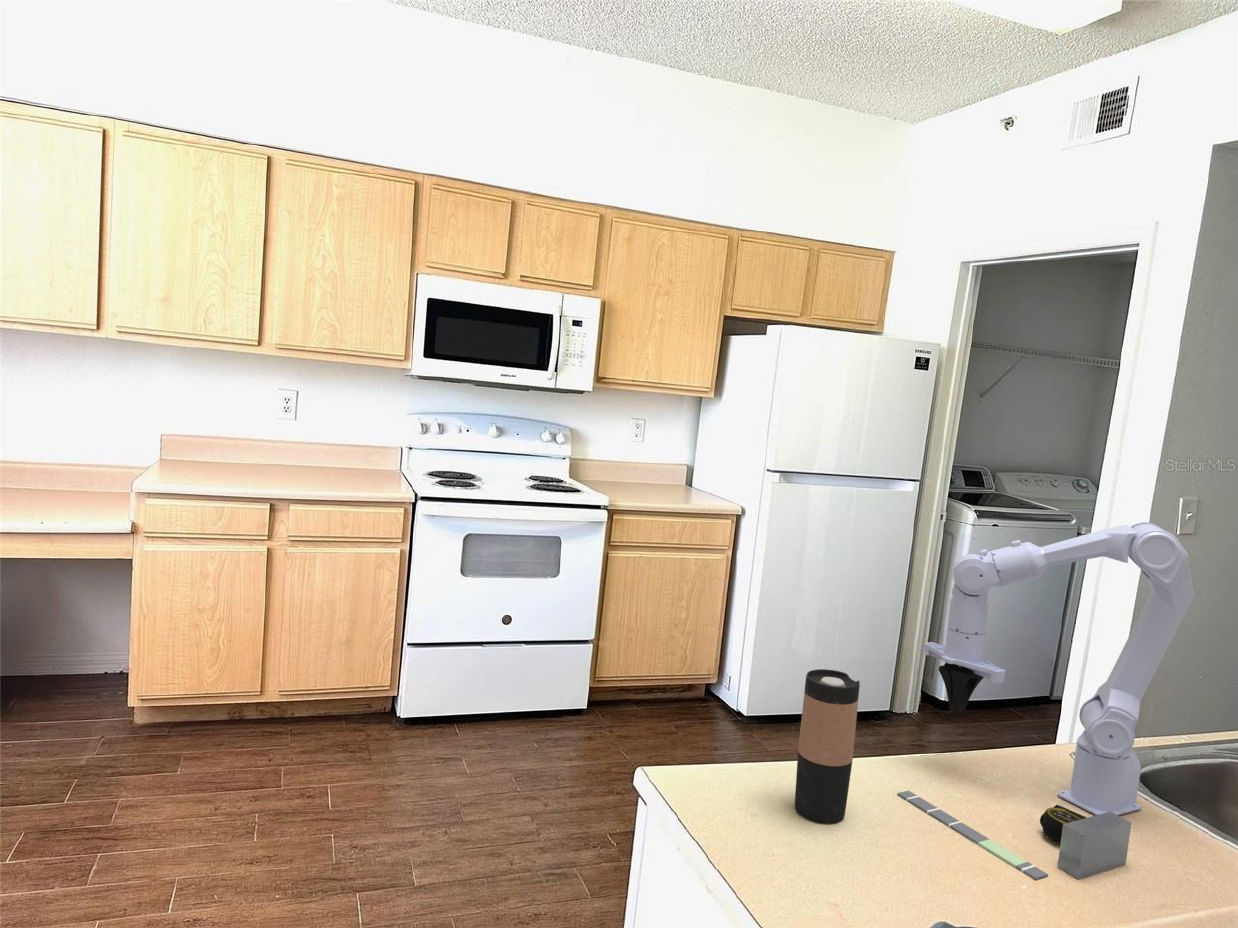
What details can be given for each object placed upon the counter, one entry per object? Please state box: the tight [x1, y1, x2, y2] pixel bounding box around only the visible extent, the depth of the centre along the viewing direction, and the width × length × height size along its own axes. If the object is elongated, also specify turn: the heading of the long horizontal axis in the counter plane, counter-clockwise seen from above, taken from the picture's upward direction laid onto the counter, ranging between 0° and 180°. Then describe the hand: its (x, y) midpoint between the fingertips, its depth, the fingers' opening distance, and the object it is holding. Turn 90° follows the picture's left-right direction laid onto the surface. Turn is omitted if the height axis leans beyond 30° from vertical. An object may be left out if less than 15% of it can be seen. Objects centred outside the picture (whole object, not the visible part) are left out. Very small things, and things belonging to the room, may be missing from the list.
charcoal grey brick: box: [1057, 812, 1132, 880], centre depth 117 cm, size 10×4×6 cm, turn 118°
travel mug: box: [794, 668, 861, 825], centre depth 125 cm, size 8×8×20 cm
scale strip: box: [896, 790, 1049, 881], centre depth 123 cm, size 2×24×1 cm, turn 28°
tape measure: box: [1039, 804, 1088, 845], centre depth 123 cm, size 7×7×4 cm
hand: (956, 710), depth 142 cm, fingers closed
